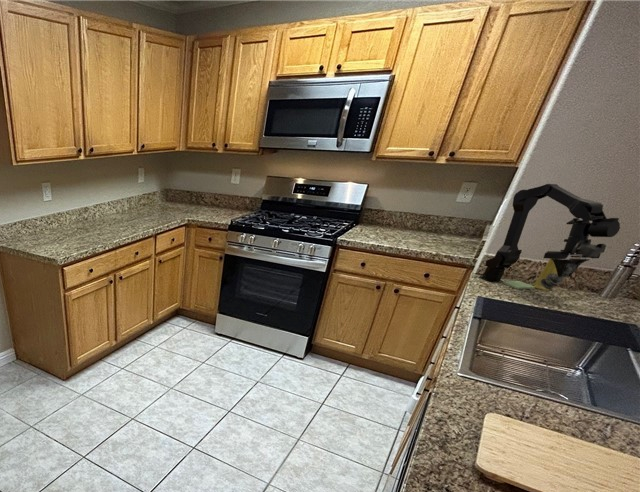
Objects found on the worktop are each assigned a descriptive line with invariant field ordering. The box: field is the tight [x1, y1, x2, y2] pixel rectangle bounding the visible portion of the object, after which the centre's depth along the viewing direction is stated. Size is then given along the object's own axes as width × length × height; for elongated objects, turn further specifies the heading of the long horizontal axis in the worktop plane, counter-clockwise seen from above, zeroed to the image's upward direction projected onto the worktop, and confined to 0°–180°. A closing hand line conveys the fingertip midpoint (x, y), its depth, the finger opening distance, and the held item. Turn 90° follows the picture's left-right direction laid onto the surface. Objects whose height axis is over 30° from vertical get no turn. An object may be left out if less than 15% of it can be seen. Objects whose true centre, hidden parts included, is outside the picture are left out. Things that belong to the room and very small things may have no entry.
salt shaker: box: [541, 265, 577, 290], centre depth 171 cm, size 6×6×12 cm
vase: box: [532, 259, 557, 291], centre depth 187 cm, size 6×6×14 cm
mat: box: [501, 280, 536, 290], centre depth 192 cm, size 8×9×1 cm
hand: (564, 276), depth 170 cm, fingers closed on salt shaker, 3 cm apart
